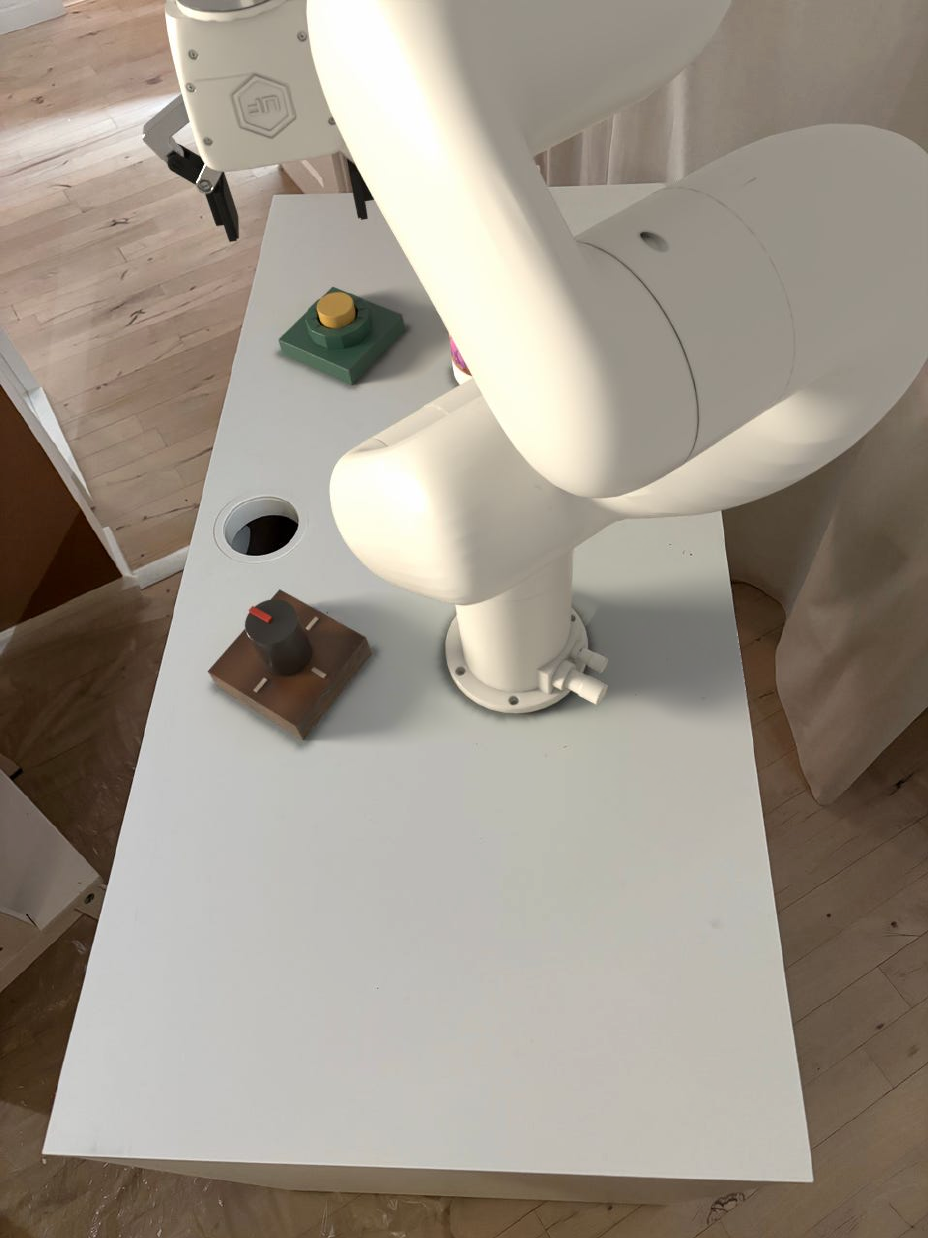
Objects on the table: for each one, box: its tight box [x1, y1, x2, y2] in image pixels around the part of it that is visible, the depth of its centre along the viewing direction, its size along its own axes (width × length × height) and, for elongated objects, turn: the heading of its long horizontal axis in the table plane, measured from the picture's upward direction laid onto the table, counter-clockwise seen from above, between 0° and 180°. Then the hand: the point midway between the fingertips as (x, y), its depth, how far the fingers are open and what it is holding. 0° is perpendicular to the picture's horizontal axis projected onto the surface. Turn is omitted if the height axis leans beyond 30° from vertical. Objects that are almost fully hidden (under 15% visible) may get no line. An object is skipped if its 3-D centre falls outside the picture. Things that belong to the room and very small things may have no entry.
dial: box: [244, 598, 312, 676], centre depth 80 cm, size 4×4×6 cm
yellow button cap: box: [317, 292, 356, 329], centre depth 104 cm, size 4×4×2 cm
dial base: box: [207, 589, 372, 741], centre depth 84 cm, size 10×10×3 cm
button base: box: [277, 286, 406, 386], centre depth 106 cm, size 10×10×4 cm
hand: (298, 219), depth 71 cm, fingers open, 9 cm apart
